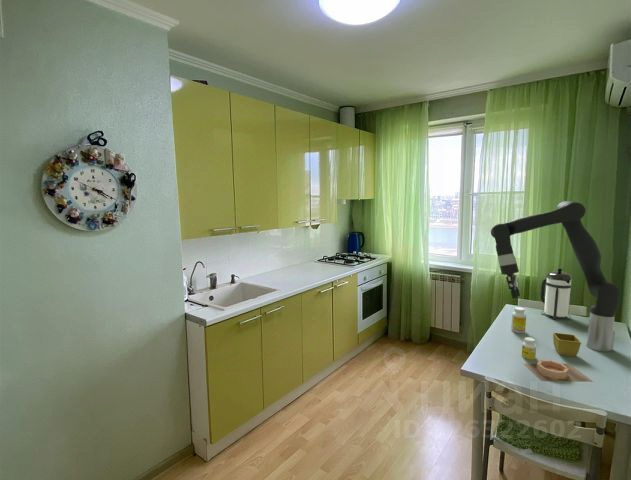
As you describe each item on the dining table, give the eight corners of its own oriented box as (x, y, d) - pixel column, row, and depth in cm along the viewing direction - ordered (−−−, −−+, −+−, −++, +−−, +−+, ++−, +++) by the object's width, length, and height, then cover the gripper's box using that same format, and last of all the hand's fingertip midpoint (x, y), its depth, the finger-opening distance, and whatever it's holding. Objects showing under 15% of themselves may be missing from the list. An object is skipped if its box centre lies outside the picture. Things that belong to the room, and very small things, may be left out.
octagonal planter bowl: (556, 366, 151) (557, 359, 150) (573, 379, 140) (574, 372, 140) (532, 366, 151) (532, 359, 151) (546, 379, 141) (547, 372, 140)
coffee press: (572, 315, 212) (577, 267, 208) (568, 323, 200) (573, 272, 196) (539, 309, 224) (543, 263, 219) (533, 315, 212) (537, 268, 208)
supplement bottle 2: (518, 356, 162) (520, 336, 161) (529, 356, 163) (531, 336, 161) (526, 362, 157) (528, 341, 156) (538, 361, 157) (539, 341, 156)
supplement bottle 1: (527, 333, 187) (528, 311, 185) (513, 333, 188) (515, 310, 186) (522, 328, 194) (524, 306, 192) (509, 328, 195) (510, 306, 193)
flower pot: (572, 352, 166) (574, 334, 164) (579, 361, 157) (581, 342, 156) (551, 349, 168) (552, 332, 167) (557, 358, 160) (558, 339, 159)
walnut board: (569, 366, 153) (569, 363, 153) (592, 384, 139) (593, 381, 139) (522, 366, 154) (522, 363, 154) (541, 383, 140) (541, 380, 140)
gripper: (514, 262, 161) (523, 297, 158) (518, 262, 173) (527, 294, 170) (496, 265, 165) (505, 299, 163) (501, 265, 177) (510, 296, 174)
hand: (516, 297), depth 166 cm, fingers open, 8 cm apart
